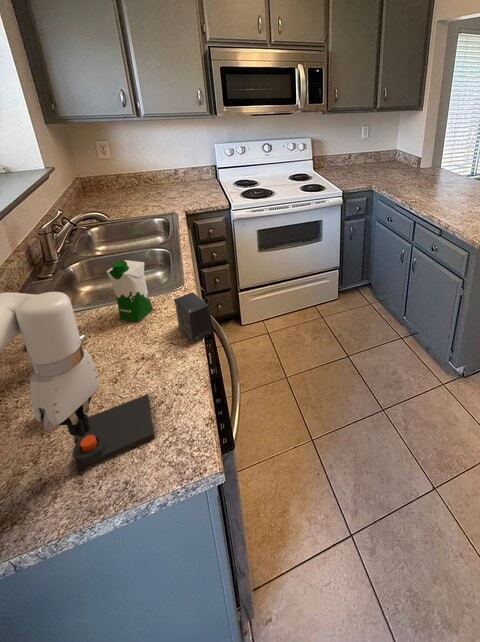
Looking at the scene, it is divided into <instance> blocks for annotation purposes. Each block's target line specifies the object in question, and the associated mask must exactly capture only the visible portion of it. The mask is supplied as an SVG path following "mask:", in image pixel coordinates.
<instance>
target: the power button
mask: <svg viewBox="0 0 480 642" xmlns="http://www.w3.org/2000/svg"><path fill="white" fill-rule="evenodd" d="M80 445H81V448H82V451H83V452H89V451H91V450H92V449H94V448H95V447H96V445H97V441H96V437H95V436H94V435H88V436H86V437H85V438H83V439H82V441H81V443H80Z"/></svg>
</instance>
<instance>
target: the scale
mask: <svg viewBox="0 0 480 642" xmlns="http://www.w3.org/2000/svg"><path fill="white" fill-rule="evenodd" d="M151 409H152V408H151V402H150V396H149V393H147V394H144V395H142V396H138V397H137V398H134V399H131V400H129V401H126V402H124V403H121V404H118V405H116V406H113V407H111V408H109V409H106V410H103V411H100V412H97V413H96V414H93V415H90V416H88V420H89V426H90V430H89V431H88V432H87V433H86V435H85V436H84V437H81V436H77V442H76V444H75V445H74V446H73V449H72V457H73V459H74V461H75V469H76V471H77V473H79V472H82V471H84V470H85V469H88V468H90V467H92V466H95V465H97V464H99V463H101V462H103V461H105V460H109V459H110V458H113V457H115V456H117V455H119V454H122V453H124V452H126V451H128V450H130V449H133V448H135V447H138V446H139V445H142V444H144V443H146V442H149V441H151V440H153V439H155V430H154V423H153V415H152V410H151ZM88 435H94V436H95V437H96V441H97V445H96V447H95V448H94V449H92V450H91V451H89V452H83V451H82V448H81V445H80V443H81V441H82V439H83V438H85V437H86V436H88Z"/></svg>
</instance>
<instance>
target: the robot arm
mask: <svg viewBox="0 0 480 642" xmlns="http://www.w3.org/2000/svg"><path fill="white" fill-rule="evenodd" d="M20 335H21V336H22V339H23V343H24V345H25V349H26V352H27V355H28V359H29V360H30V362H31V363H30V364H31V366H32V370H33V372H34V373H33V374H31V376H30V378H29V393H30V401H31V407H32V409H33V410H32V411H33V414H34V417H35V420H36V421H38V422H42V421H43V431H44V433H48V434H52V433H54V432H56V430H58V429H59V428H60V427H61V426H67V430H68V433H69V435H70V436H73V437H76V436H77V437H78V436H81V437H84V436H85V435H86V433H87V432H88V431H89V430H90V426H89V420H88V417H89V416H88V413H89V411H90V403H91V401H92V398H93V397H94V395H95V394H96V393H97V392H98V390H99V388H100V377H99V373H98V370H97V368H96V365H95V363H94V360H93V359H92V357H91V355H90V354H89V352H88V351H87V349H85V348H84V346H83V343H84V342H85V341H86V340H87V338H86V336H85V335H84V334H80V332H79V327H78V324H77V320H76V317H75V313H74V309H73V305H72V302H71V299H70V297H69V296H68V295H67V294H65V293H64V292H61V291H48V292H43V293H42V292H41V293H39V294H36V293H35V294H34V293H33V294H32V293H24V292H23V293H22V292H9V291H7V292H0V354H1V353H2V352H3V351H4V350H5V349H6V348H7V347H8V346H9V344H11V342H12V341H13V340H14V339H15V338H16V337H18V336H20Z"/></svg>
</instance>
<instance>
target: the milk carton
mask: <svg viewBox="0 0 480 642" xmlns="http://www.w3.org/2000/svg"><path fill="white" fill-rule="evenodd" d="M105 272H106V274H107V276H108V278H109V280H110V281H111V284H112V288H113V291H114V296H115V300H116V303H117V309H118V314H119V315H118V316H119V320H122V321H127V322H134V323H139V322H140V321H141V320H142V319H144V318H145V317H146V316H147V315H148V314H150V313H151V312H152V311H154V309H153V304H152V302H151V299H150V295H149V292H148V291H149V290H148V286H147V282H146V277H145V262H144V261H138V260H137V261H136V260H128V259H124V260H119V261H115V262H114V263H112V264H111V268H109V269H108V270H106V271H105Z"/></svg>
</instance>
